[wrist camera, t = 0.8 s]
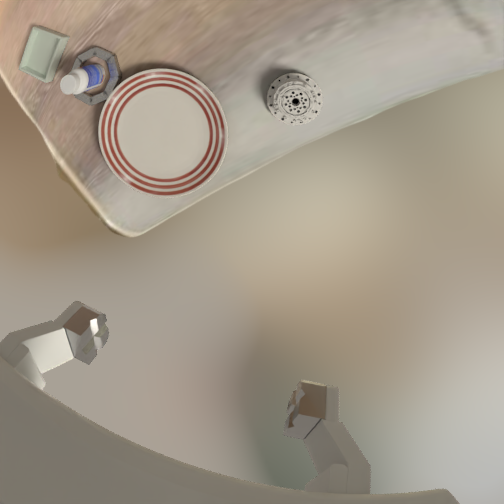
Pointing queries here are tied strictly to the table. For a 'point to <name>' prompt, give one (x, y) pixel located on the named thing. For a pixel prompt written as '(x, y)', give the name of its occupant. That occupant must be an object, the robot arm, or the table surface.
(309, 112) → the mechanical component
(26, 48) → the bin
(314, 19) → the table surface
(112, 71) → the collar
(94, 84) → the pill bottle
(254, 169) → the table surface
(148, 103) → the dinner plate
